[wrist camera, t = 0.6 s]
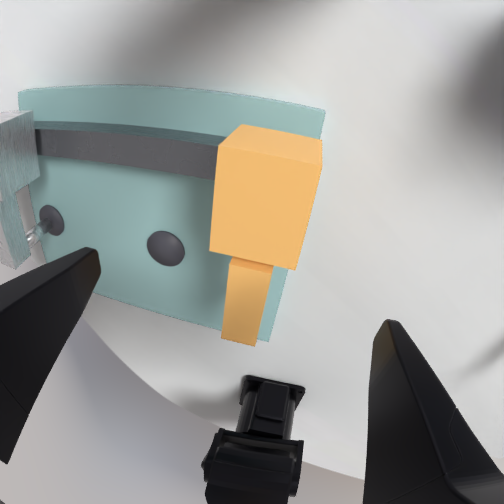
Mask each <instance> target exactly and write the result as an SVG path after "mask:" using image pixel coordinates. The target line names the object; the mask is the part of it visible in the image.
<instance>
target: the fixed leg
mask: <svg viewBox="0 0 504 504" xmlns="http://www.w3.org/2000/svg"><path fill="white" fill-rule="evenodd" d="M39 176H40V171H39V164H38V156H37V148H36V139H35V128H34V114H33V110H21V111H5V112H0V261H1V263H2V264H4V265H7V266H9V267H11V268H13V269H17V268H18V267H19V266H20V265H21V264H22V263H23V262H24V261H25V260H26V259H27V258H28V257H29V256H30V255H31V253H30V250H29V249H30V248H31V247H32V246H33V245H35V244H36V243H37V242H38V241H39V240H40V239H41V238H42V237H43V236H44V235H46V234H47V233H48V232H49V231H50V230H51V229H52V223H51V221H50V220H49V219H48V218H44V219H43V220H41V221H40V222H39V223H38V224H37V225H35V226H34V227H33V228H32V229H31V230H30V231H28V232H27V233H26V234H25V232H24V228H23V224H22V220H21V216H20V212H19V208H18V203H17V199H16V194H15V192H17V191H18V190H20V189H21V188H23V187H24V186H26V185H27V184H29V183H30V182H32V181H33V180H35V179H36V178H38V177H39Z"/></svg>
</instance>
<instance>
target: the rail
mask: <svg viewBox="0 0 504 504" xmlns="http://www.w3.org/2000/svg"><path fill="white" fill-rule="evenodd" d="M34 128H35V139H36V148H37V155H42V156H52V157H61V158H70V159H78V160H87V161H94V162H102V163H110V164H117V165H124V166H131V167H137V168H144V169H150V170H157V171H163V172H169V173H175V174H181V175H187V176H192V177H198V178H204V179H209V180H214V181H215V175H216V164H217V154H218V145H220V144H221V143H222V142H223V141H224V140H225V139H226V138H227V137H224V136H218V135H211V134H205V133H198V132H190V131H182V130H174V129H166V128H157V127H147V126H136V125H124V124H111V123H94V122H71V121H34Z"/></svg>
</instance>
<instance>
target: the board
mask: <svg viewBox="0 0 504 504" xmlns="http://www.w3.org/2000/svg"><path fill="white" fill-rule="evenodd" d="M18 101H19V111H21V110H33V114H34V121H71V122H94V123H111V124H124V125H136V126H147V127H157V128H166V129H174V130H182V131H190V132H198V133H205V134H211V135H218V136H224V137H228V136H229V135H230V134H231V133H232V132H233V131H234V130H236V129H237V128H238V127H239V126H240V125H241V124H245V125H251V126H256V127H262V128H267V129H273V130H278V131H283V132H288V133H293V134H297V135H302V136H307V137H311V138H315V139H320V135H321V131H322V126H323V122H324V117H325V110H322V109H318V108H313V107H308V106H304V105H299V104H294V103H289V102H284V101H278V100H273V99H267V98H261V97H255V96H248V95H241V94H234V93H227V92H219V91H210V90H200V89H189V88H177V87H161V86H138V85H85V86H63V87H49V88H37V89H27V90H24V91H21V92H18ZM37 156H38V164H39V171H40V176H39V177H38V178H36V179H35V180H33V181H32V182H30V183H29V184H28V186H29V192H30V197H31V202H32V207H33V211H34V216H35V220H36V224H38V223H39V222H40V221H41V220H43V219H44V218H48V219H49V220H50V221H51V223H52V229H51V230H50V231H49V232H48V233H47V234H46V235H44V236H43V237H42V238H41V239H40V241H41V244H42V248H43V252H44V255H45V259H46V262H47V263H49V262H51V261H54V260H56V259H58V258H60V257H63V256H65V255H67V254H70V253H72V252H74V251H77V250H79V249H81V248H84V247H90V248H94V249H96V250H97V251H98V254H99V259H100V265H101V275H100V278H99V280H98V282H97V284H96V286H95V288H94V290H93V292H94V293H97V294H100V295H103V296H105V297H108V298H112V299H115V300H118V301H121V302H124V303H127V304H130V305H133V306H136V307H140V308H143V309H146V310H150V311H153V312H156V313H160V314H163V315H166V316H170V317H173V318H177V319H180V320H184V321H187V322H191V323H195V324H198V325H202V326H206V327H210V328H214V329H217V330H221V331H222V325H223V316H224V307H225V298H226V289H227V280H228V271H229V264H230V262H231V259H232V257H233V256H230V255H225V254H221V253H217V252H212V251H209V248H210V234H211V221H212V209H213V197H214V185H215V181H214V180H209V179H204V178H198V177H192V176H187V175H181V174H175V173H169V172H163V171H157V170H150V169H144V168H137V167H131V166H124V165H117V164H110V163H102V162H94V161H87V160H78V159H70V158H61V157H52V156H42V155H37ZM287 272H288V269H287V268H282V267H278V266H274V267H273V272H272V276H271V281H270V285H269V289H268V294H267V298H266V302H265V307H264V311H263V315H262V320H261V324H260V328H259V332H258V336H257V339H258V340H263V341H267V342H269V338H270V335H271V331H272V328H273V324H274V321H275V317H276V313H277V310H278V306H279V302H280V299H281V295H282V291H283V287H284V284H285V280H286V276H287Z"/></svg>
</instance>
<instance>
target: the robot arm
mask: <svg viewBox="0 0 504 504" xmlns="http://www.w3.org/2000/svg"><path fill="white" fill-rule="evenodd" d="M100 275H101V265H100V259H99V254H98V251H97V250H96V249H94V248H90V247H84V248H81V249H79V250H77V251H74V252H72V253H70V254H67V255H65V256H63V257H60V258H58V259H56V260H54V261H51V262H49V263H47V264H45V265H42V266H40V267H38V268H36V269H34V270H31V271H29V272H27V273H25V274H23V275H21V276H18V277H17V278H14V279H12V280H10V281H8V282H6V283H4V284H2V285H0V460H1V461H2V462H4V463H5V464H8V462H9V460H10V458H11V455H12V452H13V450H14V448H15V445H16V443H17V441H18V438H19V436H20V434H21V431H22V429H23V427H24V424H25V422H26V420H27V418H28V416H29V413H30V411H31V409H32V407H33V405H34V403H35V400H36V398H37V396H38V394H39V392H40V390H41V388H42V386H43V384H44V382H45V380H46V378H47V376H48V374H49V373H50V371H51V369H52V367H53V365H54V363H55V361H56V359H57V357H58V356H59V354H60V352H61V350H62V348H63V346H64V344H65V343H66V341H67V339H68V337H69V336H70V334H71V332H72V330H73V329H74V327H75V325H76V324H77V322H78V320H79V318H80V317H81V315H82V313H83V311H84V309H85V307H86V305H87V303H88V300H89V298H90V296H91V294H92V292H93V290H94V288H95V286H96V284H97V282H98V280H99V278H100ZM304 394H305V388H304V387H301V386H295V385H290V384H285V383H280V382H276V381H271V380H266V379H262V378H257V377H253V376H246V377H245V381H244V386H243V390H242V394H241V398H240V402H239V404H240V405H242V408H241V412H240V416H239V420H238V424H237V428H236V432H234V431H229V430H225V429H223V428H220V429H219V431H218V433H216V434H215V436H214V439H213V442H212V445H211V447H210V449H209V451H208V453H207V455H206V456H205V458H204V460H203V461H202V464H201V467H202V468H203V470H204V481H205V482H207V487H206V490H205V497H206V500H207V503H208V504H287V502H288V497H289V496H290V497H295V496H296V493H297V489H298V484H299V479H300V473H301V464H302V455H303V445H304V440H299V441H296V440H290V437H291V430H292V424H293V417H294V411H295V410H296V408H297V406H298V404H299V403H300V401H301V399H302V397H303V395H304ZM0 504H5V503H4V502H2V501H1V500H0ZM363 504H504V474H503V473H501V471H500V470H499V469H498V468H497V466H496V465H495V463H494V462H493V460H492V459H491V457H490V456H489V455H488V453H487V452H486V450H485V449H484V448H483V446H482V445H481V443H480V442H479V441H478V439H477V438H476V436H475V435H474V433H473V432H472V430H471V429H470V427H469V426H468V424H467V423H466V421H465V420H464V418H463V416H462V415H461V413H460V412H459V410H458V408H456V405H455V404H454V402H453V401H452V399H451V397H450V396H449V394H448V393H447V391H446V390H445V388H444V386H443V385H442V383H441V382H440V380H439V379H438V377H437V376H436V374H435V373H434V371H433V370H432V368H431V367H430V365H429V364H428V362H427V361H426V359H425V358H424V356H423V355H422V353H421V352H420V351H419V349H418V348H417V346H416V345H415V343H414V342H413V340H412V339H411V338H410V336H409V335H408V333H407V332H406V330H405V329H404V328H403V326H402V325H401V323H400V322H399V321H396V320H390V319H386V320H385V321H384V322H383V324H382V326H381V327H380V329H379V331H378V333H377V334H376V336H375V338H374V341H373V349H372V360H371V370H370V380H369V397H368V438H367V457H366V472H365V484H364V495H363Z"/></svg>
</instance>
